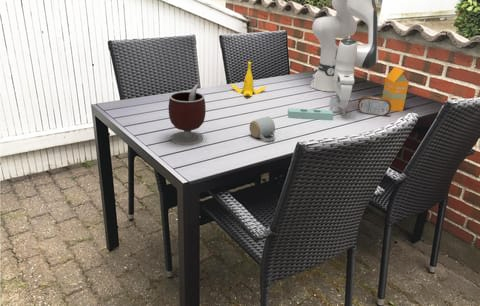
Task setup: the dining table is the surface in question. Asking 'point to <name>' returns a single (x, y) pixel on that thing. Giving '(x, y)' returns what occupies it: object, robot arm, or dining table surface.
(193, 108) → the mate gourd
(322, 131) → the dining table surface
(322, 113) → the rail
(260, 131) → the ceramic mug
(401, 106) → the orange juice
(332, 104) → the white block
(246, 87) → the banana peel
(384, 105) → the tin
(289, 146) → the dining table surface
